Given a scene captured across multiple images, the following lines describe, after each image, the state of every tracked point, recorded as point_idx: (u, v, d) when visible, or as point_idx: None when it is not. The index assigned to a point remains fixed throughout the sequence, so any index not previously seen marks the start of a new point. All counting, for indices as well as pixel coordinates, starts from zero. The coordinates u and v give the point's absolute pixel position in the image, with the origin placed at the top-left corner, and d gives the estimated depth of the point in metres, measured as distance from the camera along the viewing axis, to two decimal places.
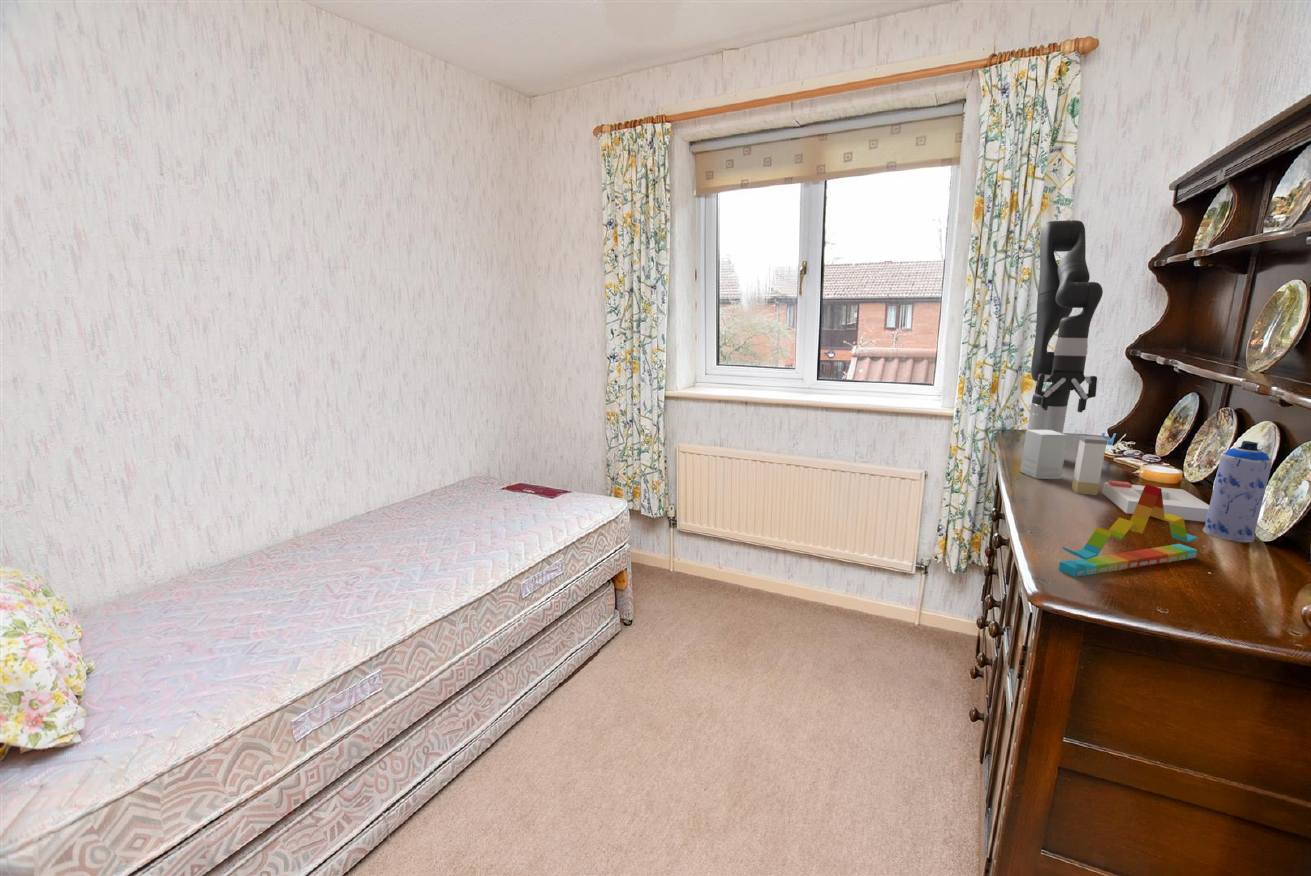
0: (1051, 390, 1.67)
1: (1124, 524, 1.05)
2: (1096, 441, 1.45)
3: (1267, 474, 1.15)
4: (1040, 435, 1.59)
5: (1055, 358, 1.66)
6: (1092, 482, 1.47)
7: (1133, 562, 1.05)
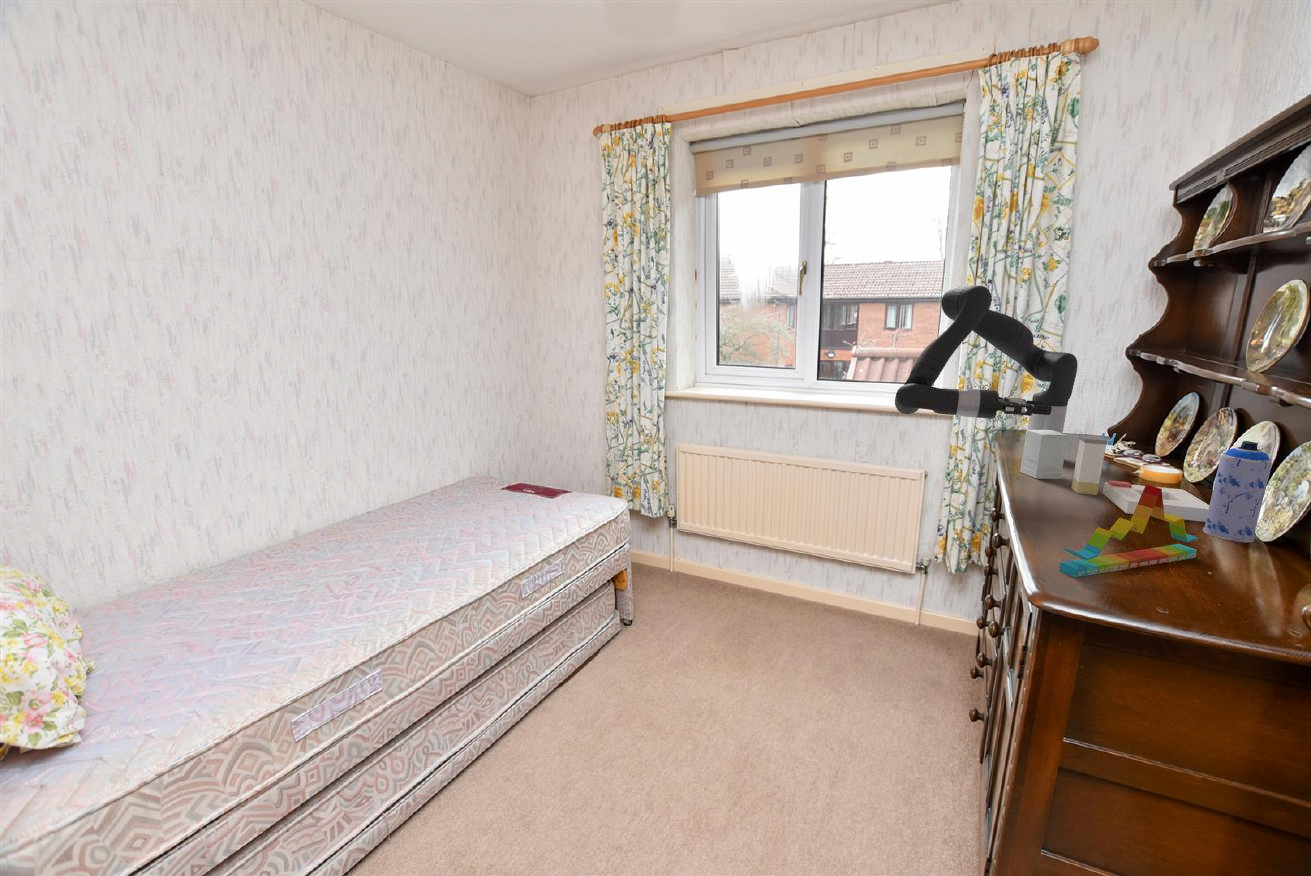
0: None
1: (1124, 524, 1.05)
2: (1096, 441, 1.45)
3: (1267, 474, 1.15)
4: (1040, 435, 1.59)
5: None
6: (1092, 482, 1.47)
7: (1133, 562, 1.05)
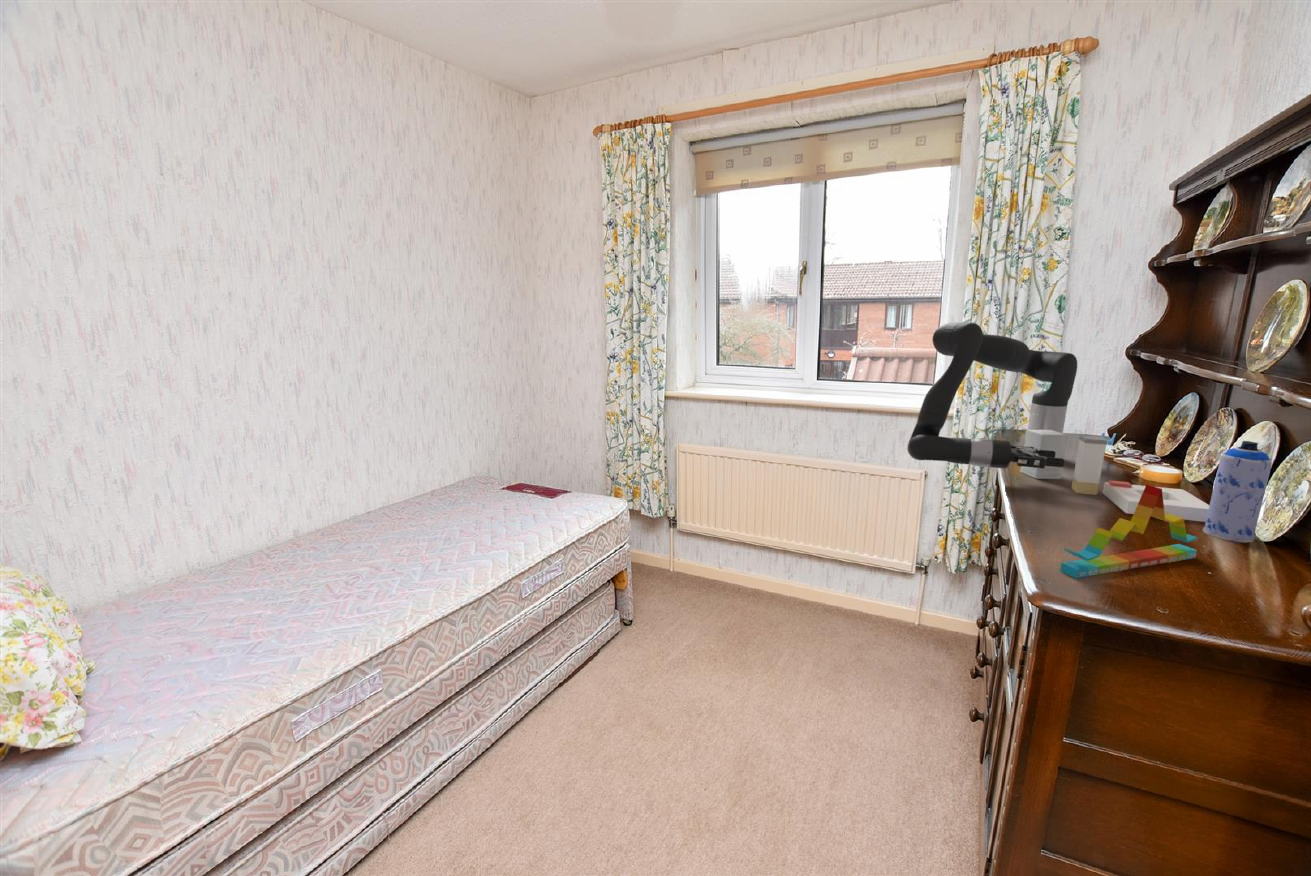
0: None
1: (1125, 524, 1.04)
2: (1096, 441, 1.45)
3: (1267, 474, 1.15)
4: (1040, 435, 1.59)
5: None
6: (1092, 482, 1.47)
7: (1134, 563, 1.05)
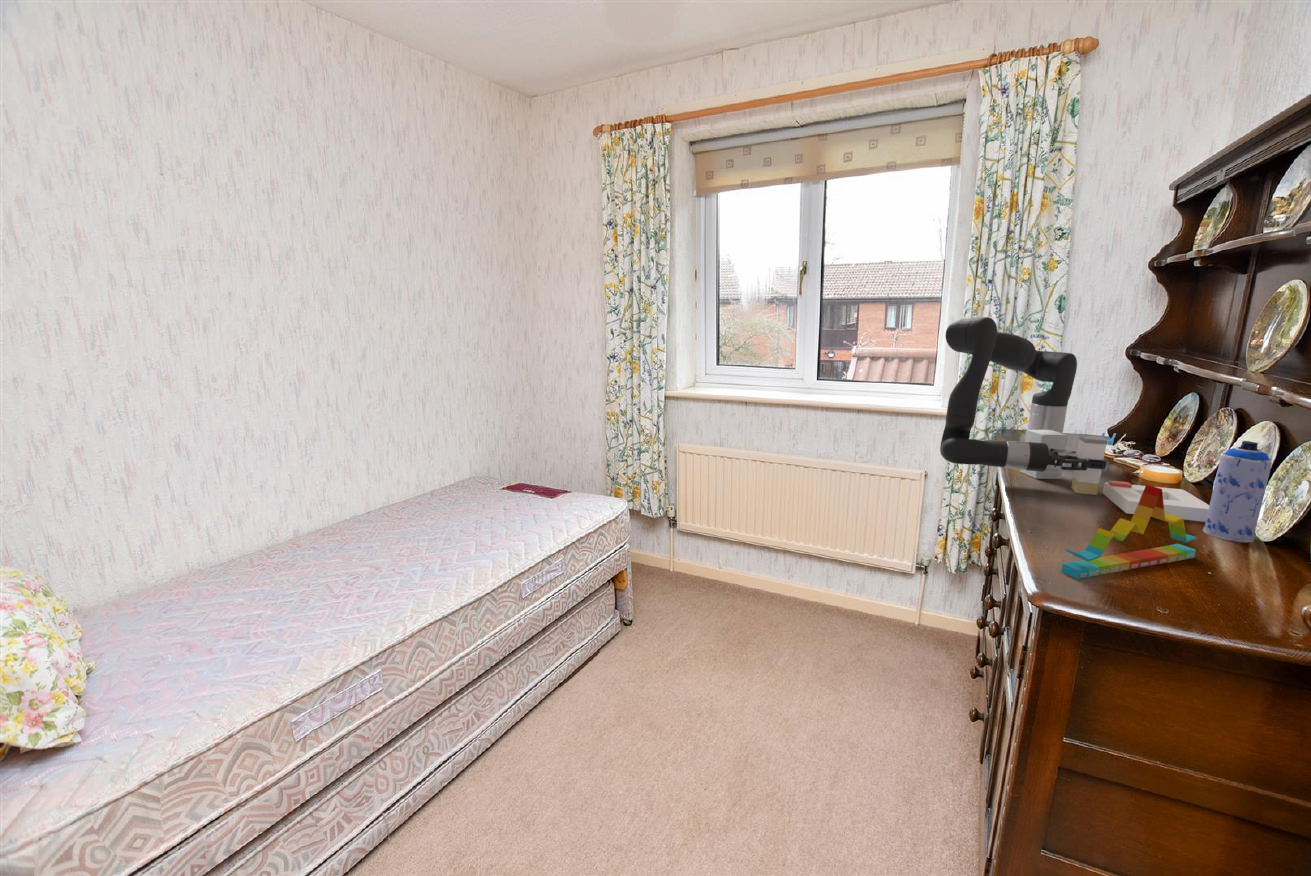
0: None
1: (1125, 525, 1.04)
2: (1096, 441, 1.45)
3: (1267, 474, 1.15)
4: (1040, 435, 1.59)
5: None
6: (1092, 482, 1.47)
7: (1134, 563, 1.05)
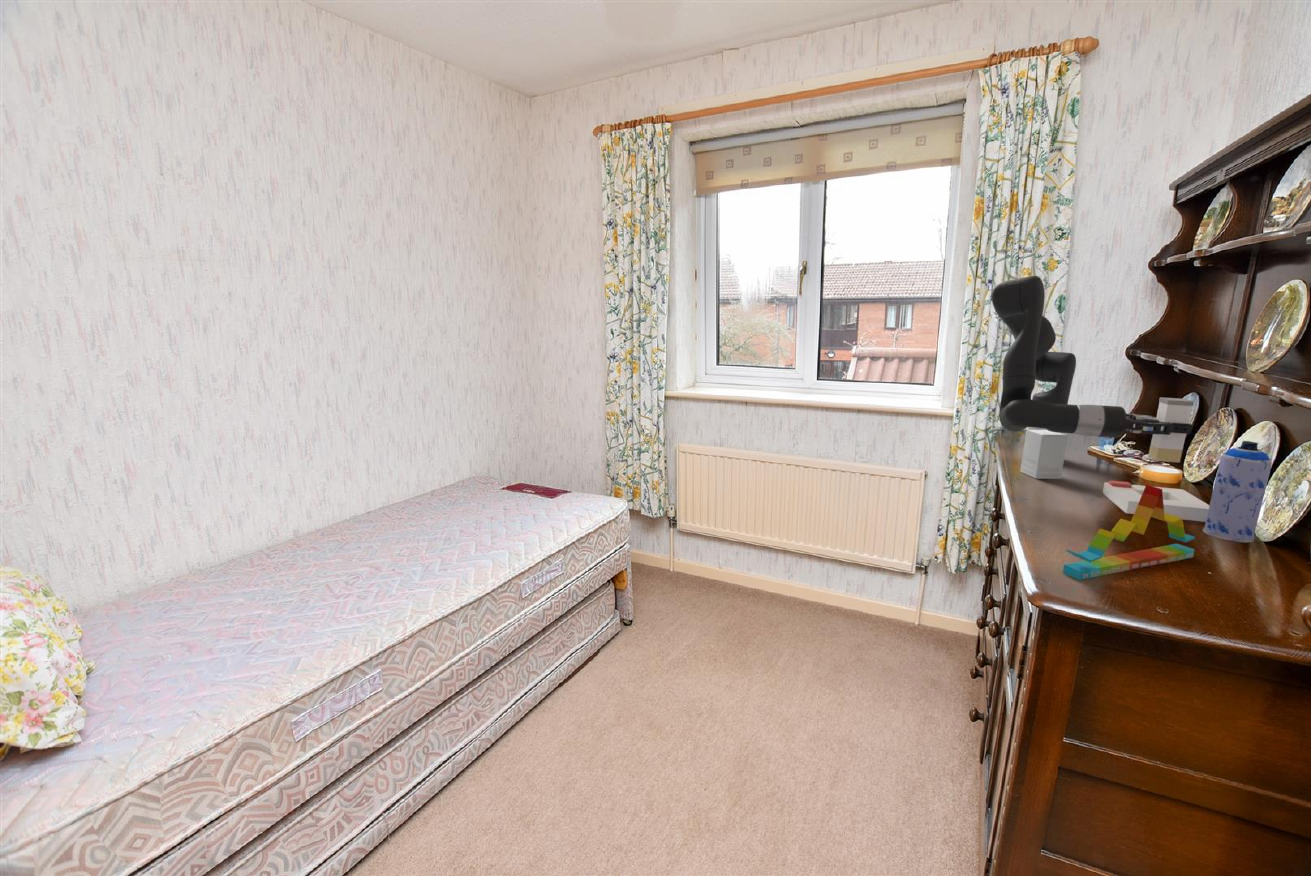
0: None
1: (1126, 525, 1.04)
2: (1181, 402, 1.31)
3: (1267, 474, 1.15)
4: (1040, 435, 1.59)
5: None
6: (1174, 448, 1.33)
7: (1135, 563, 1.05)
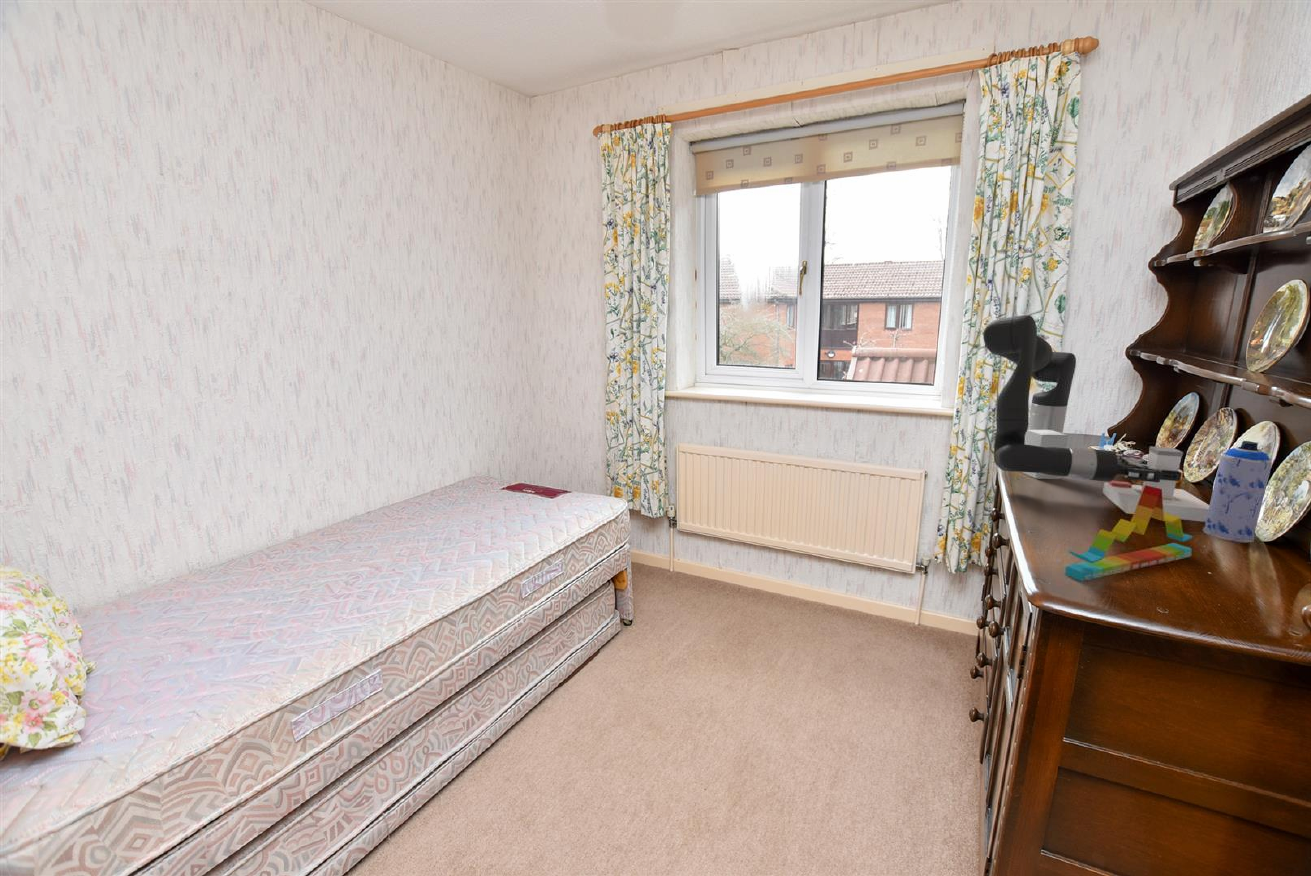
0: None
1: (1126, 526, 1.04)
2: (1170, 453, 1.34)
3: (1267, 474, 1.15)
4: (1040, 435, 1.59)
5: None
6: (1165, 497, 1.36)
7: (1135, 564, 1.05)
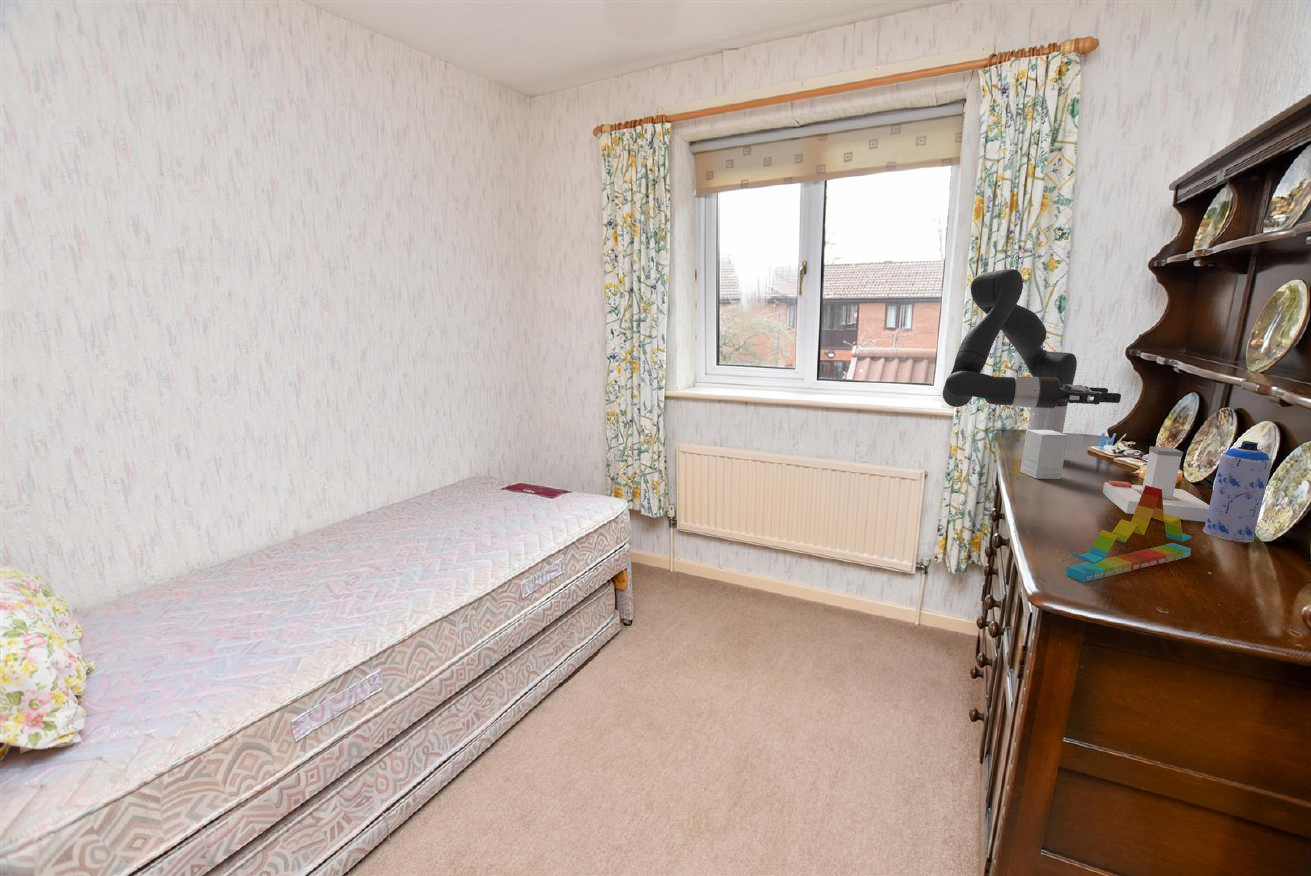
0: None
1: (1127, 526, 1.04)
2: (1170, 453, 1.34)
3: (1267, 474, 1.15)
4: (1040, 435, 1.59)
5: None
6: (1165, 497, 1.36)
7: (1136, 564, 1.05)
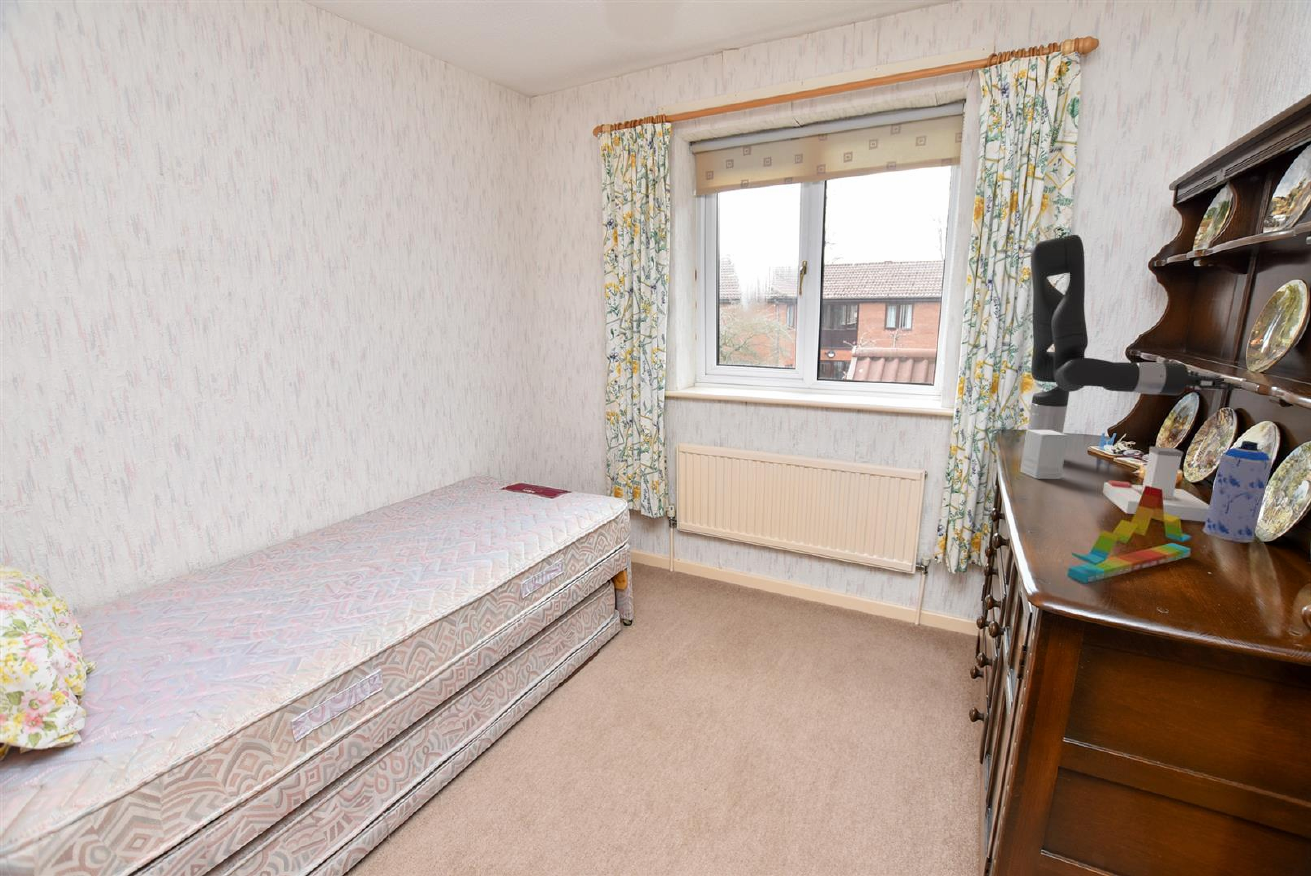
0: None
1: (1127, 526, 1.04)
2: (1170, 453, 1.34)
3: (1267, 474, 1.15)
4: (1040, 435, 1.59)
5: None
6: (1165, 497, 1.36)
7: (1136, 564, 1.04)
